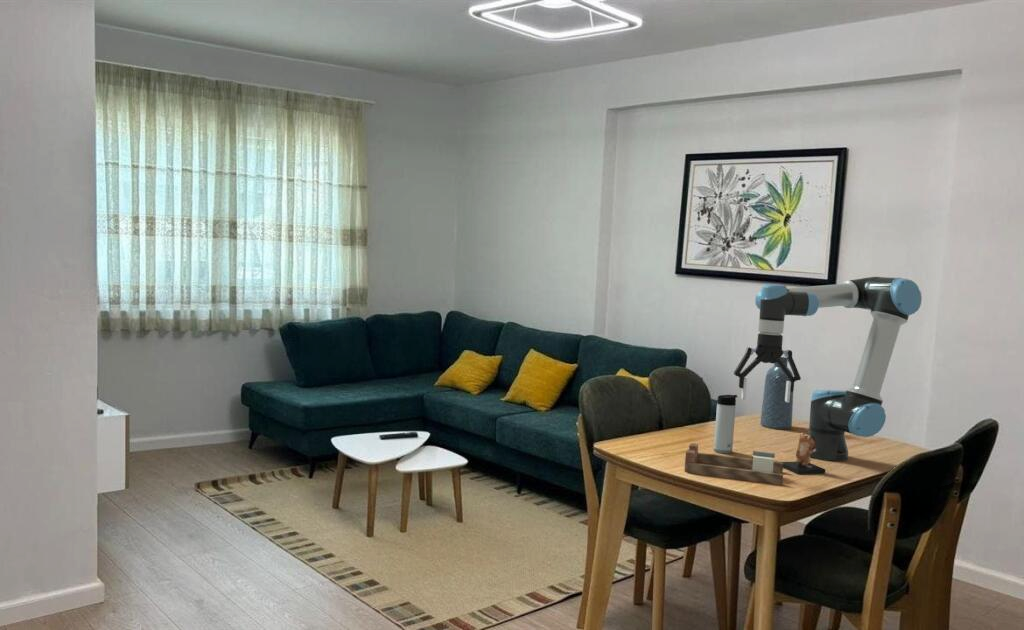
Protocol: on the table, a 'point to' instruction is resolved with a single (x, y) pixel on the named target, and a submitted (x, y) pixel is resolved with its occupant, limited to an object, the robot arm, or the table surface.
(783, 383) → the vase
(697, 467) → the guide
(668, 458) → the table surface
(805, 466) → the figurine
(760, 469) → the block
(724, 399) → the travel mug
